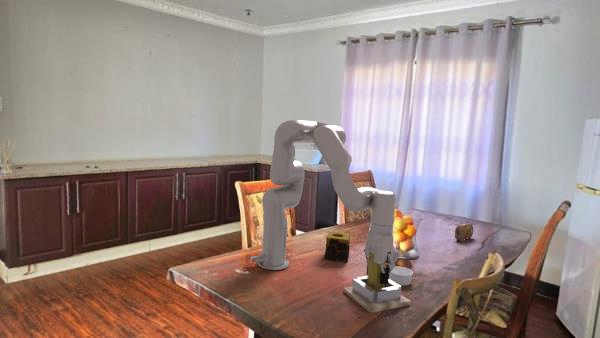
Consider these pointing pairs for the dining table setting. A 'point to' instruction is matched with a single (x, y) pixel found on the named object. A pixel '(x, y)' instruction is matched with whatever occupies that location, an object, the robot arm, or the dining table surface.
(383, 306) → the stand board
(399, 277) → the ramekin
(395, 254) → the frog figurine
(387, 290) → the collar
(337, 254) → the dark olive cube holder
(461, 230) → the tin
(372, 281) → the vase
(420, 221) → the dining table surface
